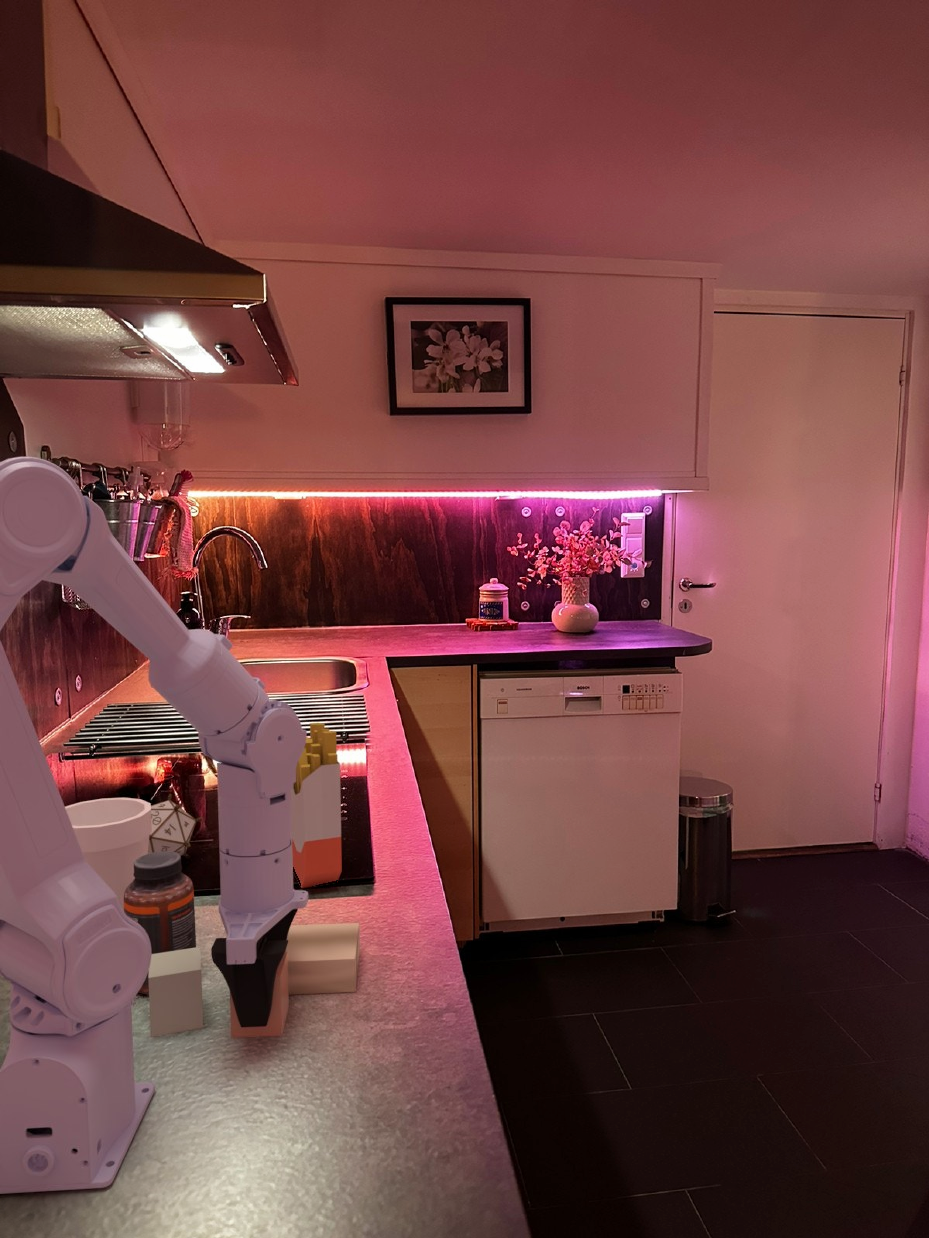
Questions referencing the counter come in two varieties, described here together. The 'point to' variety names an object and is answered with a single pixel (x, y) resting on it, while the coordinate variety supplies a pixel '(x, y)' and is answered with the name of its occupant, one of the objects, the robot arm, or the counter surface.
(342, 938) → the birch slab
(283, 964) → the terracotta block
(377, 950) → the counter surface
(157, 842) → the game die
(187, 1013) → the beige block
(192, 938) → the supplement bottle
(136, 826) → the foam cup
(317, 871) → the french fries container
